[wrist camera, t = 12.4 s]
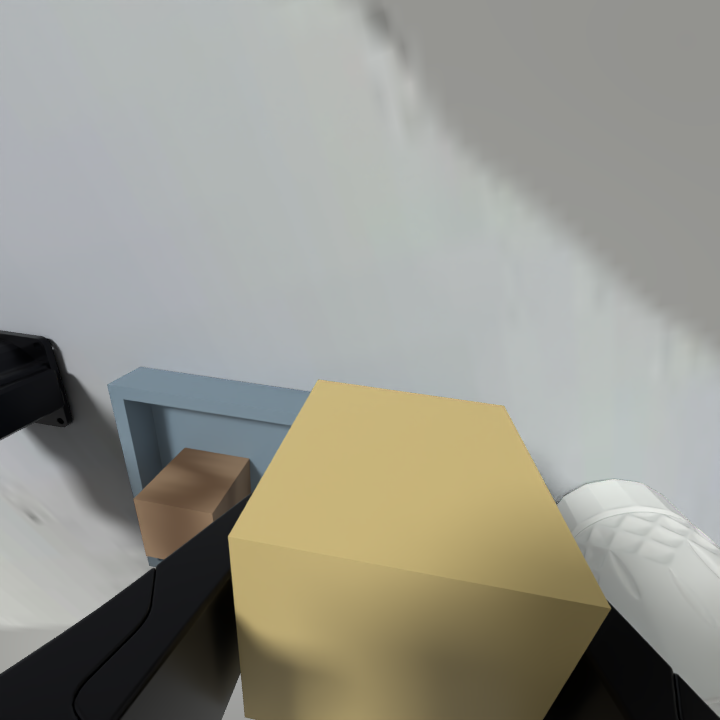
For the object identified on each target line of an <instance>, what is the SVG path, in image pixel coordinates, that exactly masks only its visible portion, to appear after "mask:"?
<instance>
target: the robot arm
mask: <svg viewBox="0 0 720 720" xmlns="http://www.w3.org/2000/svg"><path fill="white" fill-rule="evenodd" d="M34 422H35V423H41V424H46V425H52V426H58V427H66V426H68V425H69V424H71V423H72V422H73V419H72V415H71V412H70V408H69V405H68V401H67V398H66V395H65V391H64V388H63V384H62V381H61V378H60V374H59V371H58V367H57V364H56V360H55V357H54V354H53V350H52V347H51V344H50V342H49V341H48V340H47V339H46V338H45V337H42V336H36V335H29V334H22V333H15V332H8V331H1V330H0V440H2V439H4V438H6V437H8V436H10V435H12V434H13V433H15V432H17V431H19V430H21V429H23V428H25V427H27V426H28V425H30V424H32V423H34ZM253 492H254V491H253ZM253 492H252V493H250V494H249V495H248V496H246V497H245V498H244V499H242V500H241V501H240V502H239V503H237V504H236V505H235V506H233V507H232V508H231V509H229V510H228V511H227V512H225V513H224V514H223V515H222V516H220V517H219V518H218V519H216V520H215V521H214V522H212V523H211V524H210V525H208V526H207V527H206V528H205V529H203V530H202V531H201V532H199V533H198V534H197V535H195V536H194V537H193V538H191V539H190V540H189V541H188V542H186V543H185V544H184V545H182V546H181V547H180V548H178V549H177V550H176V551H174V552H173V553H172V554H171V555H169V556H168V557H167V558H165V559H164V560H163V561H161V562H160V563H159V564H157V566H156V569H155V568H152V569H151V570H149V571H148V572H147V573H145V574H144V575H143V576H141V577H140V578H139V579H138V580H136V581H135V582H134V583H132V584H131V585H130V586H128V587H127V588H125V589H124V590H123V591H121V592H120V593H119V594H117V595H116V596H115V597H113V598H112V599H111V600H109V601H108V602H106V603H105V604H104V605H102V606H101V607H100V608H98V609H97V610H95V611H94V612H92V613H91V614H89V615H88V616H86V617H85V618H83V619H82V620H81V621H79V622H78V623H76V624H75V625H73V626H72V627H70V628H69V629H67V630H66V631H64V632H63V633H62V634H60V635H59V636H57V637H56V638H54V639H53V640H51V641H50V642H48V643H46V644H45V645H43V646H42V647H40V648H39V649H37V650H36V651H34V652H33V653H31V654H30V655H28V656H27V657H25V658H24V659H22V660H21V661H19V662H18V663H16V664H15V665H13V666H12V667H10V668H9V669H7V670H6V671H4V672H3V673H1V674H0V720H222V717H223V715H224V712H225V710H226V707H227V705H228V702H229V700H230V697H231V695H232V693H233V690H234V688H235V685H236V683H237V680H238V678H239V675H240V673H241V670H240V659H239V648H238V638H237V627H236V616H235V606H234V595H233V584H232V573H231V563H230V552H229V541H228V536H229V534H230V532H231V530H232V529H233V527H234V525H235V524H236V522H237V520H238V518H239V517H240V515H241V513H242V511H243V510H244V508H245V506H246V504H247V503H248V501H249V499H250V497H251V496H252V494H253ZM606 600H607V599H606ZM607 602H608V603H609V605H610V607H611V610H610V611H609V613H608V615H607V616H606V618H605V619H604V621H603V623H602V624H601V626H600V628H599V629H598V631H597V632H596V634H595V636H594V637H593V639H592V641H591V642H590V644H589V645H588V647H587V649H586V650H585V652H584V654H583V655H582V657H581V658H580V660H579V662H578V663H577V665H576V667H575V668H574V670H573V671H572V673H571V675H570V676H569V678H568V680H567V681H566V683H565V684H564V686H563V688H562V689H561V691H560V693H559V694H558V696H557V697H556V699H555V701H554V702H553V704H552V706H551V707H550V709H549V710H548V712H547V714H546V715H545V717H544V719H543V720H720V717H719V716H718V715H717V714H716V713H715V712H714V711H713V710H712V709H711V708H710V707H709V706H708V705H707V704H706V703H705V702H704V701H703V700H702V699H701V698H700V697H699V696H698V694H697V693H696V692H695V691H694V690H693V689H692V688H691V687H690V686H689V685H688V684H687V683H686V682H685V681H684V680H683V679H682V678H681V677H680V676H679V675H678V674H677V673H673V669H672V668H671V666H670V665H669V664H668V663H667V662H666V661H665V660H664V659H663V658H662V657H661V656H660V655H659V654H658V653H657V652H656V651H655V650H654V649H653V647H652V646H651V645H650V644H649V643H648V642H647V641H646V640H645V639H644V638H643V637H642V636H641V635H640V634H639V633H638V632H637V631H636V630H635V629H634V628H633V626H632V625H631V624H630V623H629V622H628V621H627V620H626V619H625V618H624V617H623V616H622V615H621V614H620V613H619V612H618V611H617V610H616V609H615V608H614V607H613V605H612V604H611V603H610V602H609V601H608V600H607Z"/></svg>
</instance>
